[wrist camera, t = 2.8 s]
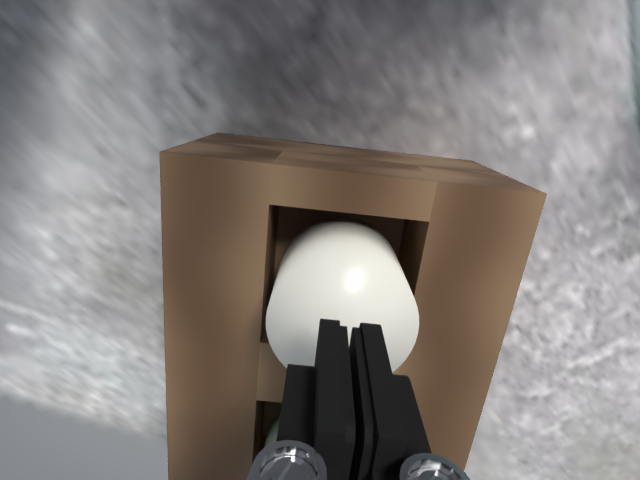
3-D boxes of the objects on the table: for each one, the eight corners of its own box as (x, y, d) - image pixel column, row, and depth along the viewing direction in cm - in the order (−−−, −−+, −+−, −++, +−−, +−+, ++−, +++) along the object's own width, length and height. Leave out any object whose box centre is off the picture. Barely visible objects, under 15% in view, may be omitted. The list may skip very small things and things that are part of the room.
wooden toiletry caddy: (472, 160, 22) (546, 193, 15) (412, 419, 28) (444, 537, 21) (217, 132, 22) (159, 151, 14) (212, 400, 28) (169, 512, 20)
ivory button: (408, 224, 16) (433, 264, 12) (388, 332, 18) (404, 395, 14) (284, 211, 16) (270, 246, 12) (275, 320, 18) (261, 381, 14)
